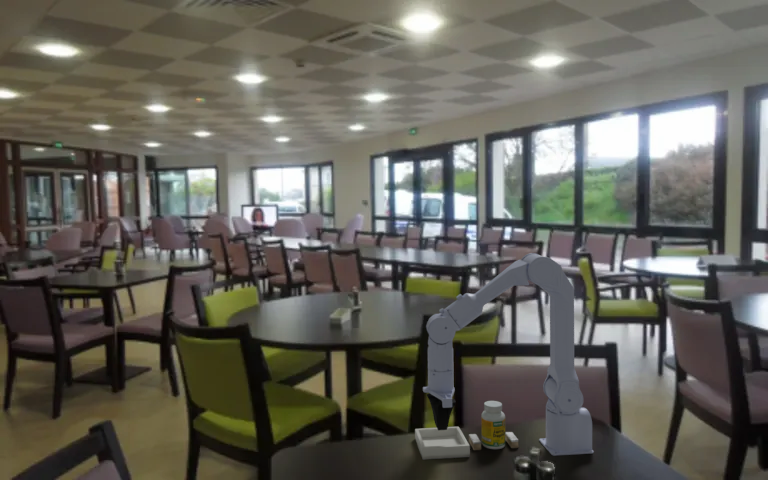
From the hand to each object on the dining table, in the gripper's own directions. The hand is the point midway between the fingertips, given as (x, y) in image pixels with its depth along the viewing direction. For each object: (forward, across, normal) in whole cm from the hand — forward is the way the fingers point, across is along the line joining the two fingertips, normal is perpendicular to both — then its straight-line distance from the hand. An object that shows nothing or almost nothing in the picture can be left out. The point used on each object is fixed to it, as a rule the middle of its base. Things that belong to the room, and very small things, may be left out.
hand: (441, 427), depth 122 cm
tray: (+5, 0, 0) cm, 5 cm away
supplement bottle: (+5, 0, +12) cm, 13 cm away
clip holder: (+5, 0, +12) cm, 13 cm away
